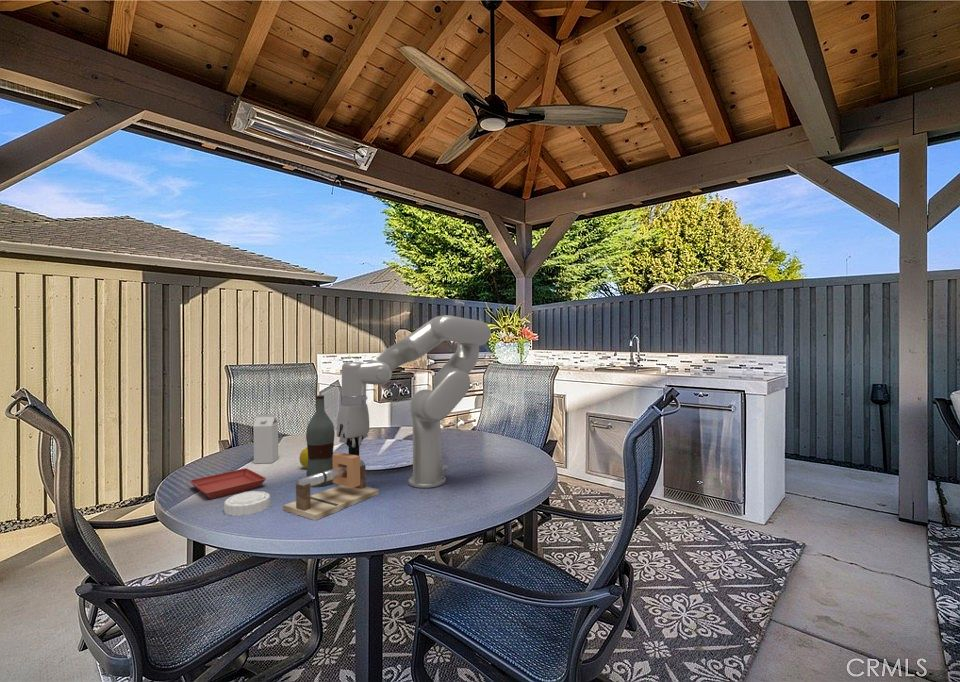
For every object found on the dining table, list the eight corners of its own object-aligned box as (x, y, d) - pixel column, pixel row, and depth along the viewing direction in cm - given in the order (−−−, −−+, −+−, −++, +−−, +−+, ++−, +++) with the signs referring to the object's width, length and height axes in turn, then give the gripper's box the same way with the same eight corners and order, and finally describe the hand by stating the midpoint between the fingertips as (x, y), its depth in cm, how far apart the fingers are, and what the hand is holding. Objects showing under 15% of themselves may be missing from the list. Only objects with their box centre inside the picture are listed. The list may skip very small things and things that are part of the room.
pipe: (358, 468, 147) (357, 459, 147) (365, 470, 145) (364, 460, 145) (296, 489, 127) (296, 478, 127) (303, 491, 126) (303, 479, 126)
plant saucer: (206, 503, 137) (206, 492, 137) (188, 489, 150) (188, 479, 150) (267, 488, 151) (267, 478, 151) (246, 477, 163) (246, 467, 163)
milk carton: (260, 459, 185) (259, 413, 185) (278, 458, 186) (277, 412, 186) (253, 464, 178) (253, 416, 178) (272, 463, 179) (271, 415, 179)
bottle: (327, 477, 161) (327, 393, 160) (340, 482, 154) (339, 395, 154) (301, 483, 154) (300, 395, 154) (313, 489, 148) (312, 398, 147)
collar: (340, 480, 144) (340, 452, 144) (360, 485, 139) (360, 456, 139) (332, 482, 142) (332, 454, 142) (352, 487, 137) (352, 458, 137)
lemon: (296, 469, 170) (296, 448, 170) (306, 465, 175) (306, 445, 175) (308, 471, 168) (307, 449, 168) (318, 467, 173) (318, 446, 173)
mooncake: (262, 498, 141) (262, 486, 141) (276, 508, 132) (276, 496, 132) (219, 508, 132) (219, 496, 132) (230, 520, 124) (230, 507, 124)
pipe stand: (347, 486, 150) (347, 461, 150) (378, 494, 143) (378, 467, 143) (283, 510, 130) (282, 481, 130) (315, 520, 122) (314, 489, 122)
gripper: (363, 397, 152) (363, 452, 152) (326, 402, 139) (326, 462, 139) (379, 399, 148) (379, 455, 148) (343, 404, 135) (343, 465, 135)
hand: (353, 458), depth 143 cm, fingers closed
